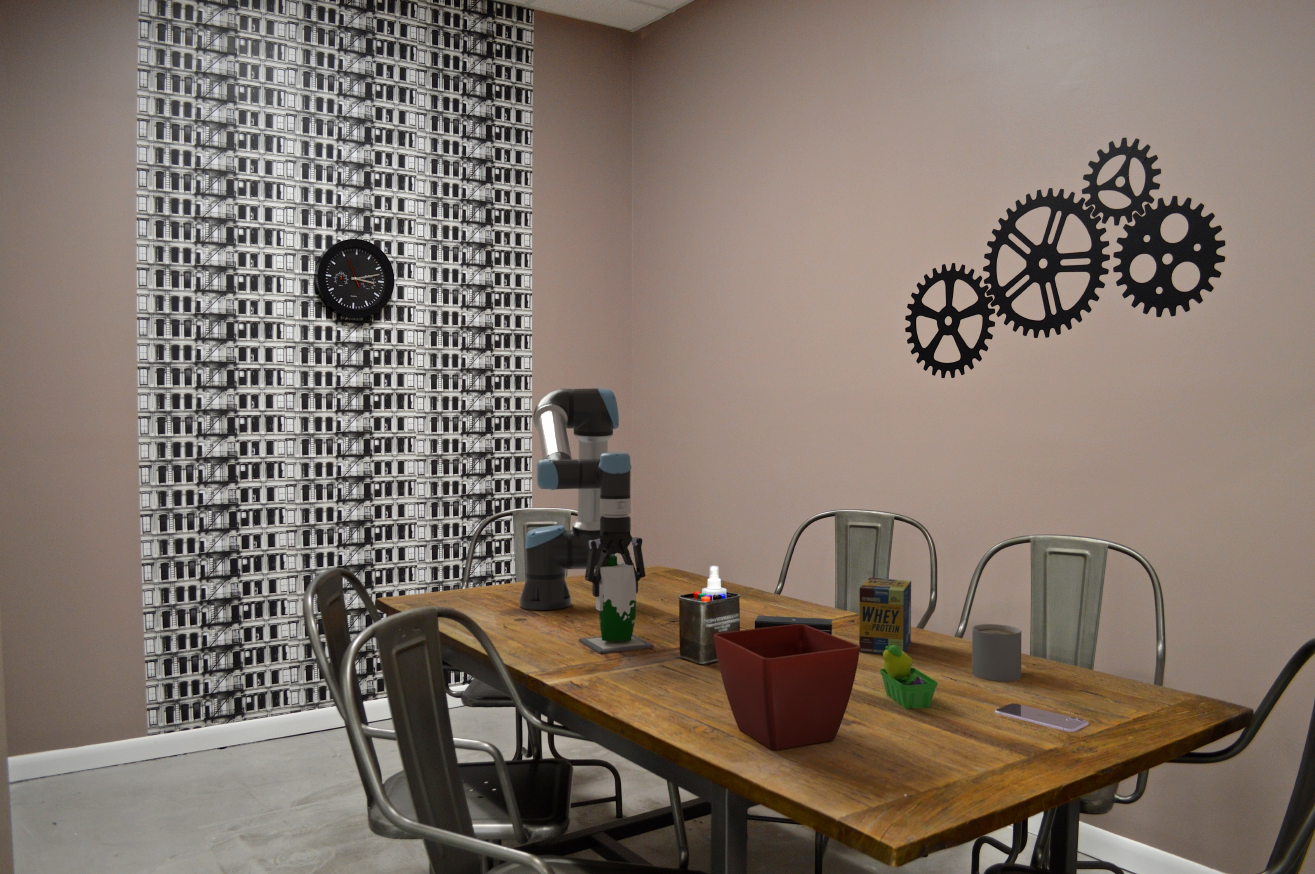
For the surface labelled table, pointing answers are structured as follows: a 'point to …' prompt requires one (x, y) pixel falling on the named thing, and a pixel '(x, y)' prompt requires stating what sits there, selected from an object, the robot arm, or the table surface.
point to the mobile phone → (1042, 717)
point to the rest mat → (614, 644)
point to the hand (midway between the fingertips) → (615, 608)
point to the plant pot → (787, 682)
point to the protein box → (884, 615)
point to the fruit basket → (906, 680)
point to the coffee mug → (996, 652)
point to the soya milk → (618, 601)
